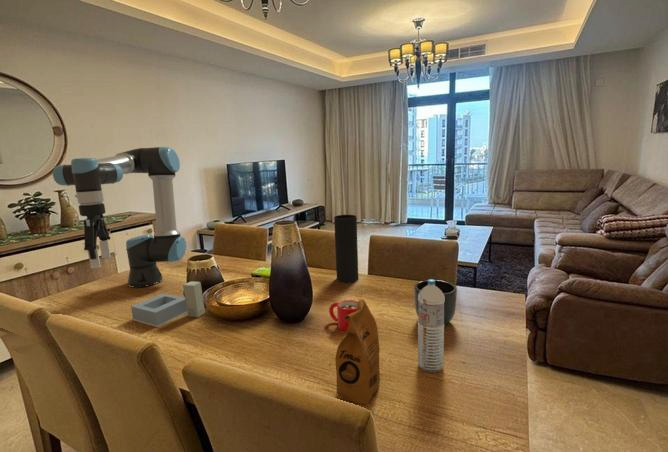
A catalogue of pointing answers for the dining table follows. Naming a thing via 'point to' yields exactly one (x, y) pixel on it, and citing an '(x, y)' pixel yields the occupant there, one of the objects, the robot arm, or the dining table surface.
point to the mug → (343, 312)
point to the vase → (346, 248)
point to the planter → (449, 293)
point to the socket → (159, 309)
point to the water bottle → (431, 328)
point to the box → (194, 299)
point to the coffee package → (358, 357)
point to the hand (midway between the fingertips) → (101, 262)
